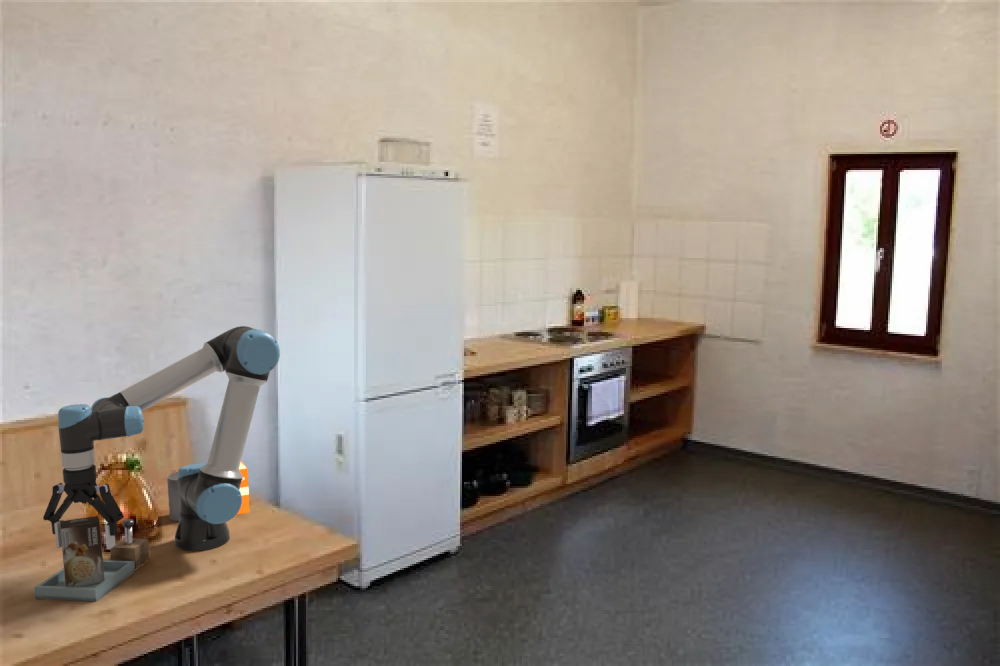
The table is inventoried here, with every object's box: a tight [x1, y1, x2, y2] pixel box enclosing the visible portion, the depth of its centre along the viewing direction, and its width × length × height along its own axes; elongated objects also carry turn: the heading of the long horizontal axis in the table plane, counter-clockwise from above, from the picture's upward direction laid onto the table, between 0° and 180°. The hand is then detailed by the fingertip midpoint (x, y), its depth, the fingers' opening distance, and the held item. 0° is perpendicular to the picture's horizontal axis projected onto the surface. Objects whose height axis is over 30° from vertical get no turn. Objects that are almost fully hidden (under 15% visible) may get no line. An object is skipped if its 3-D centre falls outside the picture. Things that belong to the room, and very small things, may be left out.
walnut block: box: [109, 537, 150, 570], centre depth 232 cm, size 7×7×6 cm
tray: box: [33, 559, 136, 602], centre depth 218 cm, size 16×18×3 cm
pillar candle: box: [166, 471, 180, 522], centre depth 269 cm, size 10×10×15 cm
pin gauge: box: [122, 518, 135, 545], centre depth 231 cm, size 3×3×12 cm
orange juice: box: [236, 461, 250, 516], centre depth 274 cm, size 8×9×20 cm
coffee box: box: [59, 515, 105, 587], centre depth 218 cm, size 9×6×16 cm
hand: (86, 546), depth 217 cm, fingers open, 13 cm apart
